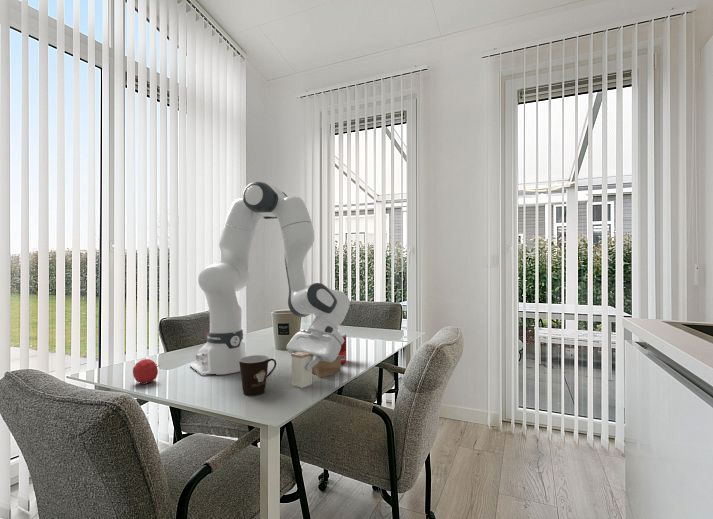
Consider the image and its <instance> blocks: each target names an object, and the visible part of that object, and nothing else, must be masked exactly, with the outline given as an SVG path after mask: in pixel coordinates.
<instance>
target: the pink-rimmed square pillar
mask: <svg viewBox="0 0 713 519" xmlns="http://www.w3.org/2000/svg"><path fill="white" fill-rule="evenodd" d="M290 356H291V385H292V386H294V387H297V388H301V389H303V388H306V387H308V386H311V385H313V374H312V369H311V371H308V370H306V369H305V366H306V363H309V362H310V361H311V360H312V355H311V353H307V352H302V351H299V352H296V353H292V354H291V353H290Z"/></svg>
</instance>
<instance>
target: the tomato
mask: <svg viewBox="0 0 713 519" xmlns="http://www.w3.org/2000/svg"><path fill="white" fill-rule="evenodd" d="M158 367H160V365H159V364H157V363H156V362H155V361H154V360H152V359H150V358H144V359H141V360H140V361H138V362H137V363H135V365H134V367H133V368H132V375H133V378H134V380H135V381H136V382H137V383H139V382H140V383H139V384H143V383H146V382H150V383H152V382H153V381H154V380H156V379H157V377H158V373H159V370H158ZM151 381H152V382H151ZM146 384H147V383H146Z"/></svg>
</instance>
